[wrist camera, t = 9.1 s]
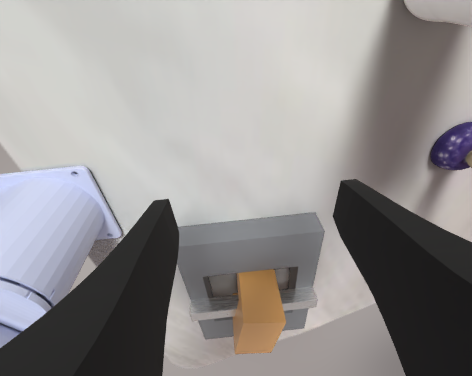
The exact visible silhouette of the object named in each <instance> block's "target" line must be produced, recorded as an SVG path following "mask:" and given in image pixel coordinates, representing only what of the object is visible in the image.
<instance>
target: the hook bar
mask: <svg viewBox="0 0 472 376" xmlns="http://www.w3.org/2000/svg"><path fill="white" fill-rule="evenodd" d="M279 293H280V297H281V302H282V306H283V310H284V311H287V310H296V309H305V308H314V307H316V305H317V301H318V299H317V296H316V294H315V291H314V288H313V286H312V287H303V288H294V289H285V290H279ZM238 301H239V297H238V295H231V296H222V297H213V298H204V299H195V300H191V302H190V317H191V319H192V321H198V320H207V319H216V318H225V317H234V316H235V314H236V310H237V305H238Z"/></svg>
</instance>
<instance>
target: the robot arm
mask: <svg viewBox="0 0 472 376" xmlns="http://www.w3.org/2000/svg"><path fill="white" fill-rule="evenodd" d="M73 171H74V172H77V173H78V174H75V173H74V172H73ZM333 218H334V221H335V224H336V226H337V229H338V231H339V234H340V236H341V238H342V240H343V242H344V244H345V246H346V247H347V249H348V251H349V253H350V255H351V256H352V258H353V260H354V262H355V263H356V265H357V267H358V269H359V270H360V272H361V274H362V276H363V277H364V279H365V281H366V283H367V285H368V287H369V288H370V290H371V292H372V294H373V296H374V299H375V301H376V303H377V305H378V308H379V310H380V312H381V314H382V316H383V319H384V321H385V324H386V326H387V329H388V331H389V334H390V336H391V338H392V341H393V343H394V346H395V348H396V351H397V354H398V356H399V359H400V361H401V364H402V367H403V370H404V372H405V375H406V376H472V242H470V241H468V240H465V239H463V238H461V237H459V236H457V235H455V234H452V233H450V232H448V231H446V230H444V229H442V228H440V227H438V226H436V225H434V224H433V223H431V222H429V221H427V220H425V219H423V218H421V217H419V216H418V215H416V214H414V213H412V212H410V211H409V210H407V209H405V208H404V207H402V206H400V205H398V204H397V203H395V202H393V201H392V200H390V199H388V198H387V197H385V196H383V195H382V194H380V193H378V192H377V191H375V190H374V189H372V188H370V187H369V186H367V185H365V184H363V183H362V182H360V181H358V180H356V179H353V180H343V181H341V183H340V187H339V191H338V196H337V200H336V205H335V209H334V213H333ZM110 233H111V234H110ZM121 234H122V231H121V229H120V227H119V226H118V224H117V222H116V220H115V218H114V216H113V214H112V212H111V210H110V209H109V207H108V205H107V203H106V201H105V199H104V197H103V195H102V193H101V192H100V190H99V188H98V186H97V184H96V182H95V180H94V178H93V176H92V175H91V173H90V171H89V169H88V168H86V167H84V166H74V167H64V168H54V169H45V170H35V171H25V172H16V173H6V174H0V376H162V372H163V358H164V345H165V333H166V322H167V314H168V307H169V302H170V297H171V291H172V286H173V281H174V275H175V270H176V265H177V259H178V251H179V230H178V227H177V223H176V220H175V217H174V214H173V211H172V208H171V205H170V202H169V199H164V200H155V201H153V202H152V204H151V205H150V206H149V207H148V209H147V210H146V211H145V212H144V214H143V215H142V216H141V217H140V219H139V220H138V221H137V223H136V224H135V225H134V226H133V227H132V229H131V230H130V231H129V232H128V234H127V235H126V236H125V237H124V238H123V240H122V241H121V242H120V243H119V244H118V245H117V246H116V247H115V249H114V250H113V251H112V252H111V253H110V254H109V255H108V256H107V257H106V259H105V260H104V261H103V262H102V263H101V264H100V265H99V266H98V267H97V268H96V269H95V270H94V271H93V272H92V273H91V274H90V275H89V276H88V277H87V278H86V279H84V280H83V281H82V282H81V283H80V284H79V285H78V286H77V287H76V288H75V289H74V290H72V291H71V292H70V293H69V291H70V289H71V287H72V285H73V283H74V281H75V279H76V277H77V275H78V273H79V271H80V269H81V267H82V265H83V263H84V261H85V259H86V258H87V256H88V254H89V252H90V250H91V248H92V246H93V244H94V242H95V240H102V239H111V238H119V237H120V236H121ZM68 293H69V294H68Z"/></svg>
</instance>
